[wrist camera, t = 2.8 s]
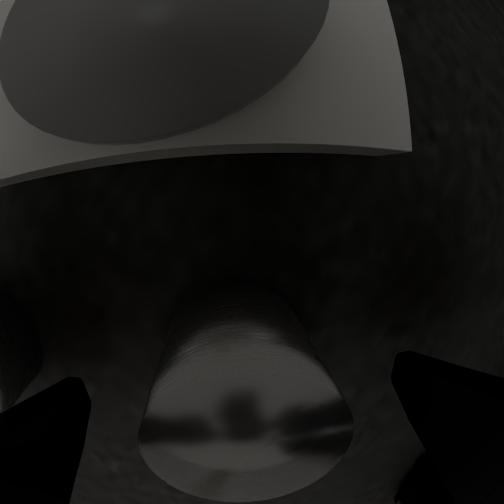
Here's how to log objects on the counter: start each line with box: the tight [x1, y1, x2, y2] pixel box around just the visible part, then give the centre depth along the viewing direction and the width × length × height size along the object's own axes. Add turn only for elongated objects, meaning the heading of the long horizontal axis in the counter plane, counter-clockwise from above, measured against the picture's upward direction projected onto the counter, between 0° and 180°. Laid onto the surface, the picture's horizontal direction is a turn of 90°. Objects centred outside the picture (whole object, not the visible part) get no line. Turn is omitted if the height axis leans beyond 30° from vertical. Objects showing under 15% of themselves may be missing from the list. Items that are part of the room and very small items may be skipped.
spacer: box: [138, 279, 354, 502], centre depth 7 cm, size 4×4×5 cm
